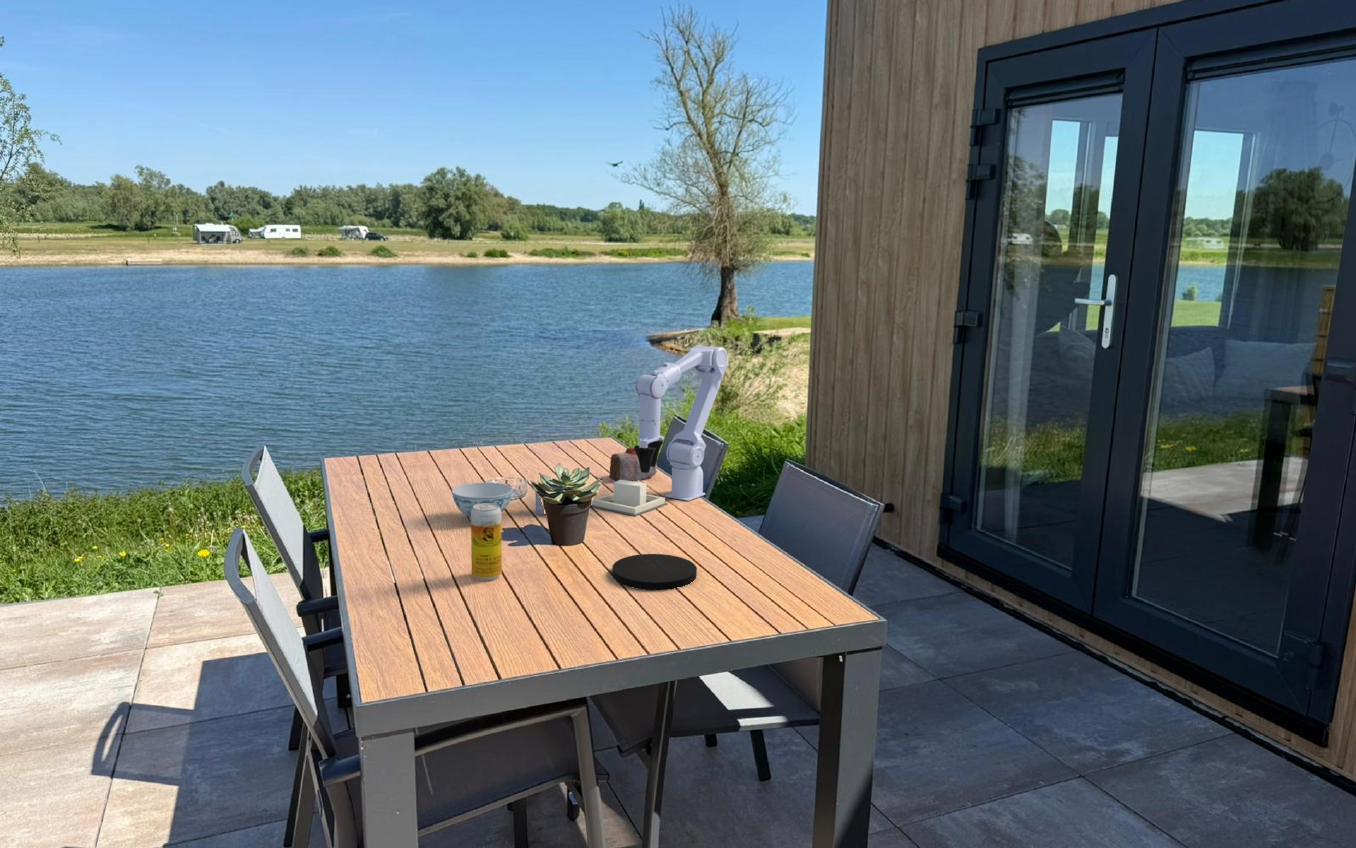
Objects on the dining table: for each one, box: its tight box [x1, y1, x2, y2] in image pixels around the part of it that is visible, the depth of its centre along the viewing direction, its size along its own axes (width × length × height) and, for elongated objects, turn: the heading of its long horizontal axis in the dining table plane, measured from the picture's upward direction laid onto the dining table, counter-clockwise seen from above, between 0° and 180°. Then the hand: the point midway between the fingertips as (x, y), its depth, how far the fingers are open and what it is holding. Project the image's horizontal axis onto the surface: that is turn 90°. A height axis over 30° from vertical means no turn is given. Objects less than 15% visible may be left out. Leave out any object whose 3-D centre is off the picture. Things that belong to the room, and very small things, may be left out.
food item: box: [608, 447, 658, 482], centre depth 264 cm, size 14×8×10 cm, turn 125°
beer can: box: [470, 503, 503, 582], centre depth 177 cm, size 6×6×15 cm
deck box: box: [613, 480, 648, 507], centre depth 234 cm, size 4×8×6 cm, turn 66°
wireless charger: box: [611, 553, 698, 591], centre depth 182 cm, size 18×18×2 cm
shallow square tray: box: [591, 492, 668, 517], centre depth 235 cm, size 15×15×2 cm
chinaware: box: [451, 482, 514, 522], centre depth 218 cm, size 15×15×8 cm
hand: (648, 469), depth 232 cm, fingers open, 7 cm apart
